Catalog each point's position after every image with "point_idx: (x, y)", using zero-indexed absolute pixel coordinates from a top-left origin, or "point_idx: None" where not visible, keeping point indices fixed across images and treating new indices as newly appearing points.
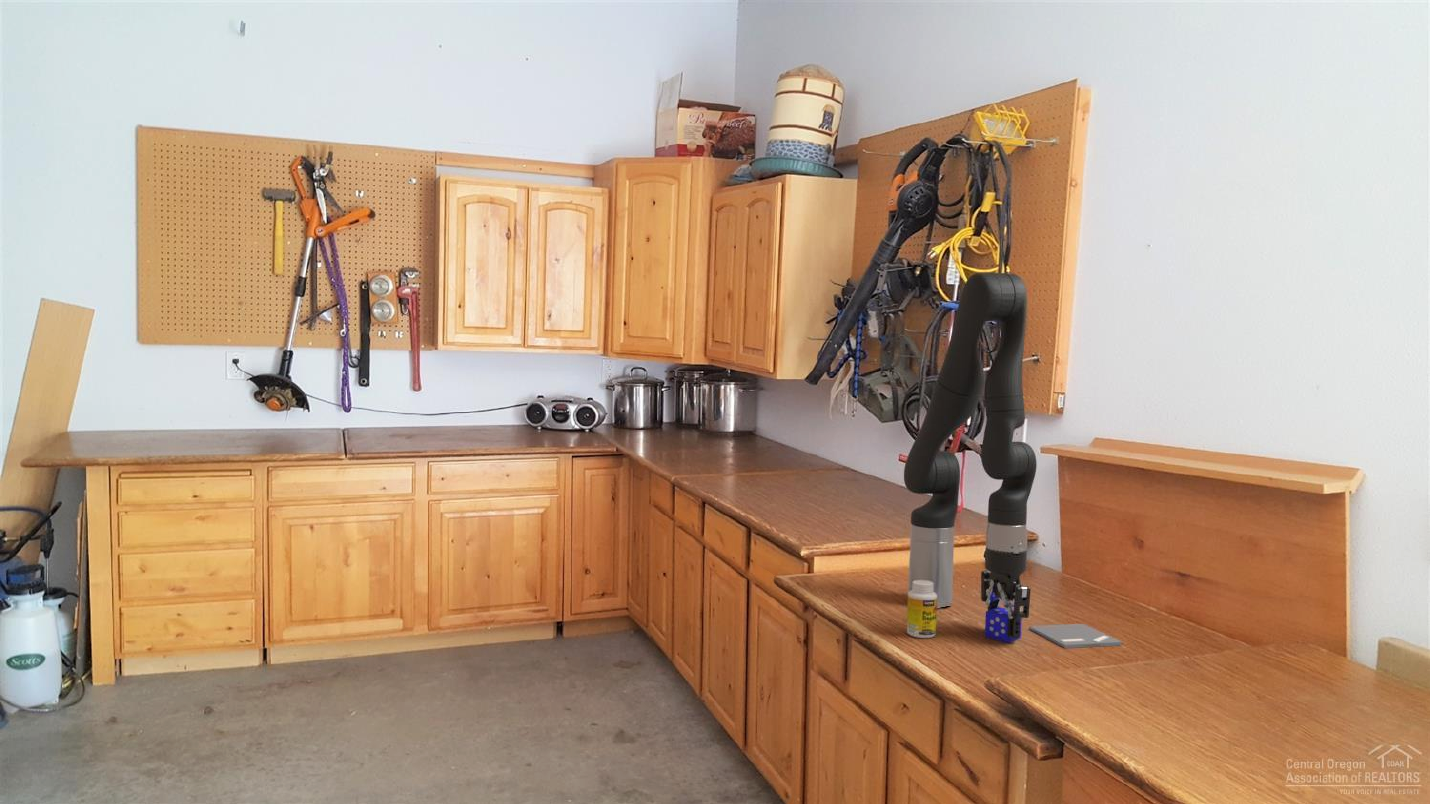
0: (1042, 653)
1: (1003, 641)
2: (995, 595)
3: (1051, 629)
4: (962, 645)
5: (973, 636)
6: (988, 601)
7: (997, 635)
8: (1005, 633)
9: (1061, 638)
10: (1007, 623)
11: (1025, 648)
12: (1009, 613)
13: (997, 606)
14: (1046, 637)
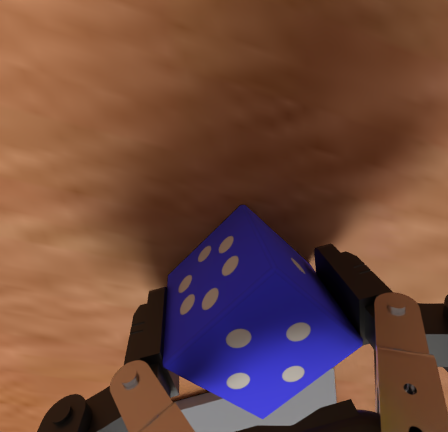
0: (58, 353)
1: (184, 260)
2: (357, 411)
3: (296, 412)
4: (86, 48)
5: (252, 155)
6: (396, 325)
7: (201, 252)
8: (177, 287)
9: (204, 423)
10: (170, 328)
11: (107, 315)
12: (132, 389)
13: (369, 343)
14: None
